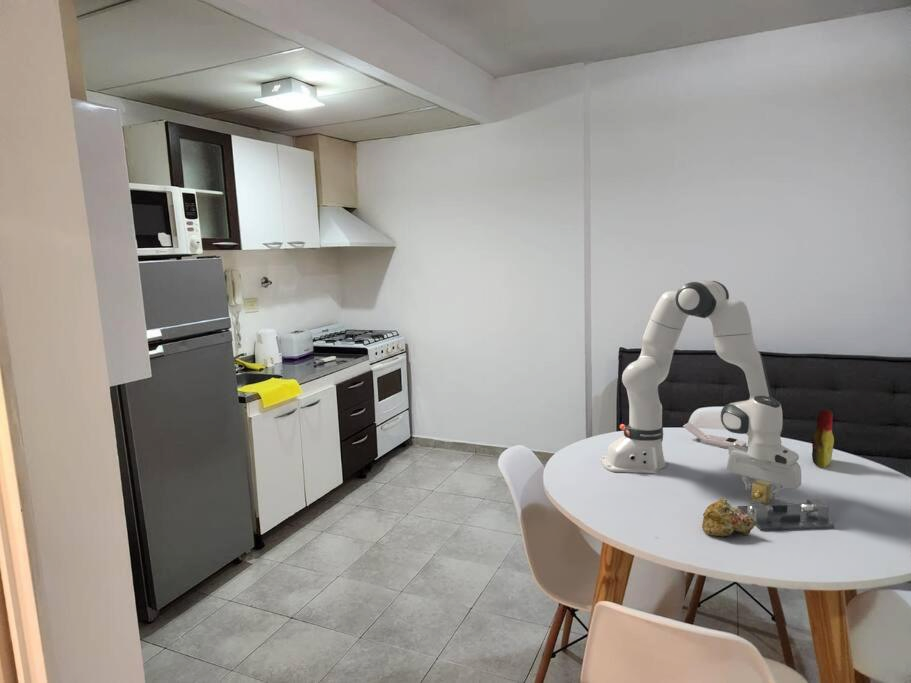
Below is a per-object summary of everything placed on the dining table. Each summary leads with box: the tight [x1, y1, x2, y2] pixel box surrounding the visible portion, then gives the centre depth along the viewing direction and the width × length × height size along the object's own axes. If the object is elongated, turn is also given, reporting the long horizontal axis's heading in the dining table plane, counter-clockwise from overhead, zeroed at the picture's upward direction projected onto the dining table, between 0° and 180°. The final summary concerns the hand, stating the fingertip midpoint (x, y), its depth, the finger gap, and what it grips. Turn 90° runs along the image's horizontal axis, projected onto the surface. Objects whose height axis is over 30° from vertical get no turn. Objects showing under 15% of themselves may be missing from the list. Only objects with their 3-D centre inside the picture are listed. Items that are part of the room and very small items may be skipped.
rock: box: [701, 498, 756, 537], centre depth 154 cm, size 12×9×10 cm
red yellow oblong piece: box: [811, 408, 835, 468], centre depth 197 cm, size 12×6×20 cm, turn 142°
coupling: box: [751, 479, 773, 505], centre depth 173 cm, size 7×4×6 cm, turn 130°
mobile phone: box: [682, 422, 747, 450], centre depth 221 cm, size 6×6×25 cm
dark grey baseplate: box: [736, 498, 835, 532], centre depth 161 cm, size 21×13×5 cm, turn 90°
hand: (761, 493), depth 173 cm, fingers open, 6 cm apart
